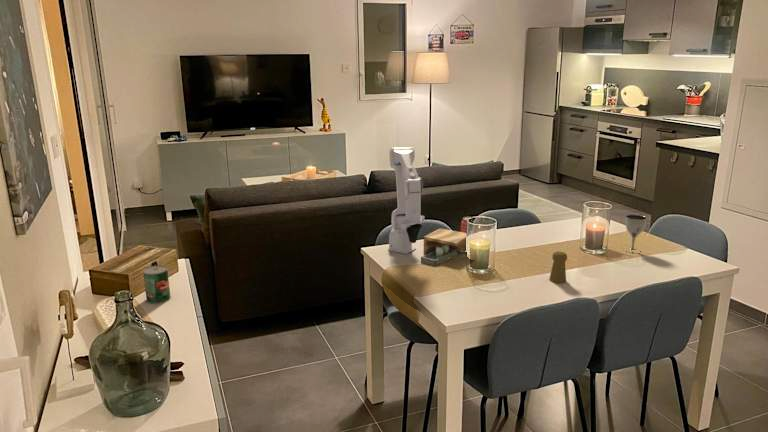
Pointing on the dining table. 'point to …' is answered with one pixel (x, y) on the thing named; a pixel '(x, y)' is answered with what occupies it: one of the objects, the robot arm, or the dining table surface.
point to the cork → (558, 268)
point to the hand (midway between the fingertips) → (412, 242)
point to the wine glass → (635, 226)
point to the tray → (437, 260)
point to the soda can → (464, 224)
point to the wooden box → (445, 240)
